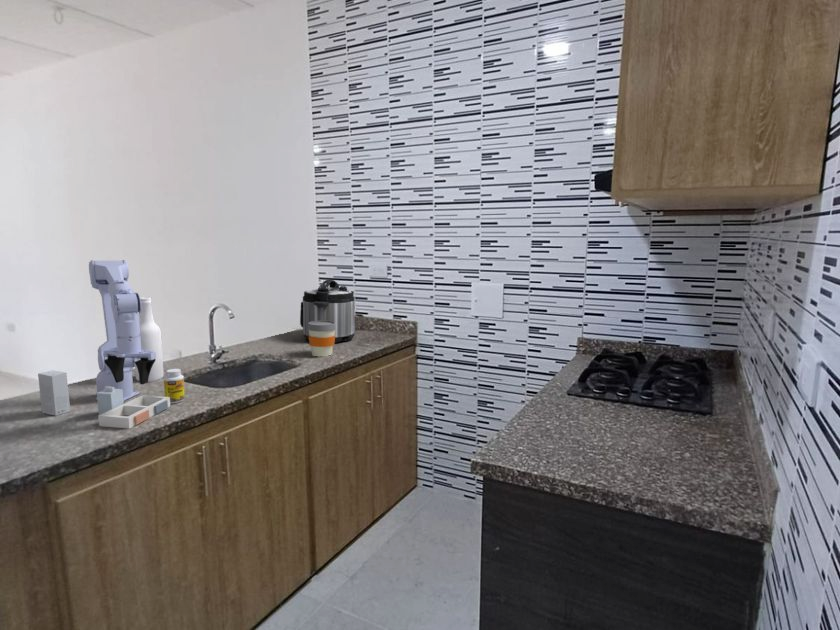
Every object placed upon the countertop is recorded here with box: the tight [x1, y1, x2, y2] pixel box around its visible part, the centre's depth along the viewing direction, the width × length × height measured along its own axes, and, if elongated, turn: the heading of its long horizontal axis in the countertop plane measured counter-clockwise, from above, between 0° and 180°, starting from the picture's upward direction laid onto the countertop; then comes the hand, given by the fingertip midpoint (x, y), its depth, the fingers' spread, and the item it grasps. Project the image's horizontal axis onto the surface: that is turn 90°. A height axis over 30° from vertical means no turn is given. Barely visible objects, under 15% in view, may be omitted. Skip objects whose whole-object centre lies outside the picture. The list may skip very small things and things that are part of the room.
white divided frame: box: [97, 394, 171, 429], centre depth 131 cm, size 10×17×3 cm, turn 174°
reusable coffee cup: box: [308, 321, 336, 357], centre depth 206 cm, size 13×13×15 cm
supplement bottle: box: [163, 368, 186, 405], centre depth 143 cm, size 6×6×10 cm
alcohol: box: [134, 296, 165, 383], centre depth 162 cm, size 9×9×30 cm
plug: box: [96, 386, 125, 416], centre depth 132 cm, size 4×4×8 cm
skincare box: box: [37, 370, 71, 417], centre depth 131 cm, size 6×4×12 cm
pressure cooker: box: [299, 279, 356, 343], centre depth 238 cm, size 30×28×32 cm
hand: (131, 382), depth 129 cm, fingers open, 7 cm apart
